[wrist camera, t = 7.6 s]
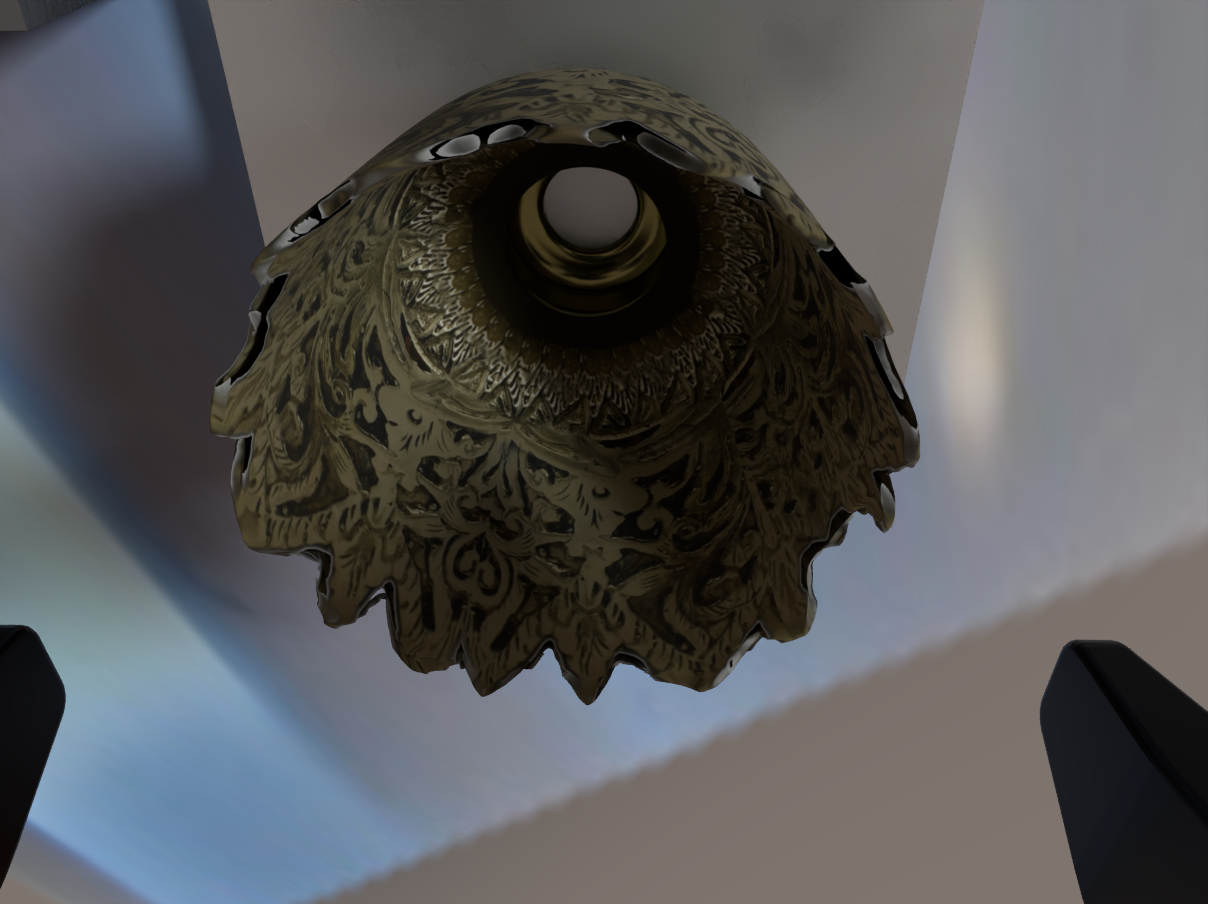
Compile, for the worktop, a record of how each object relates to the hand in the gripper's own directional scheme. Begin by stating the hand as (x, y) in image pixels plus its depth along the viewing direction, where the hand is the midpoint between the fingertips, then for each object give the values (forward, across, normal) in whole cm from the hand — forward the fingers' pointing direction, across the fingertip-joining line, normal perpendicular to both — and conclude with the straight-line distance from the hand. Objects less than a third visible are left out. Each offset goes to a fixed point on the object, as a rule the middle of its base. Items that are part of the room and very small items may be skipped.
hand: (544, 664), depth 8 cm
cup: (+10, 0, 0) cm, 11 cm away
